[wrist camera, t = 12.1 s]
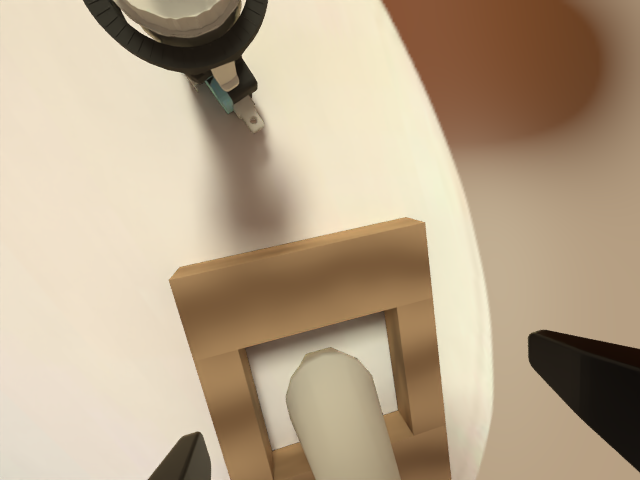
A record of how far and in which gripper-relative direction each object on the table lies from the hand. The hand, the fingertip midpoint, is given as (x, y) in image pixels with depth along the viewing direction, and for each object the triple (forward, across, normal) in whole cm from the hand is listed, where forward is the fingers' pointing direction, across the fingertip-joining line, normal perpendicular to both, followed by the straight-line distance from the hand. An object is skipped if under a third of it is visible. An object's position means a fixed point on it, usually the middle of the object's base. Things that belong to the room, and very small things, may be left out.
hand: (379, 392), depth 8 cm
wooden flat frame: (+13, 0, +9) cm, 16 cm away
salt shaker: (+13, 0, +9) cm, 16 cm away
